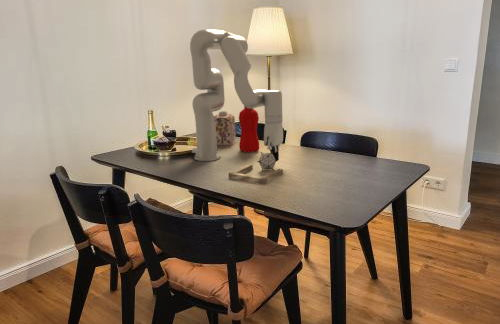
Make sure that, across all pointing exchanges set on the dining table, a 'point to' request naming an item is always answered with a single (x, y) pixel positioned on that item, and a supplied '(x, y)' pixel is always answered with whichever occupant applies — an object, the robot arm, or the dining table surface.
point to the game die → (267, 161)
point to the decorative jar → (225, 128)
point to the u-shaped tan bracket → (240, 175)
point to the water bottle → (248, 130)
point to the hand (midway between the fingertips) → (274, 160)
